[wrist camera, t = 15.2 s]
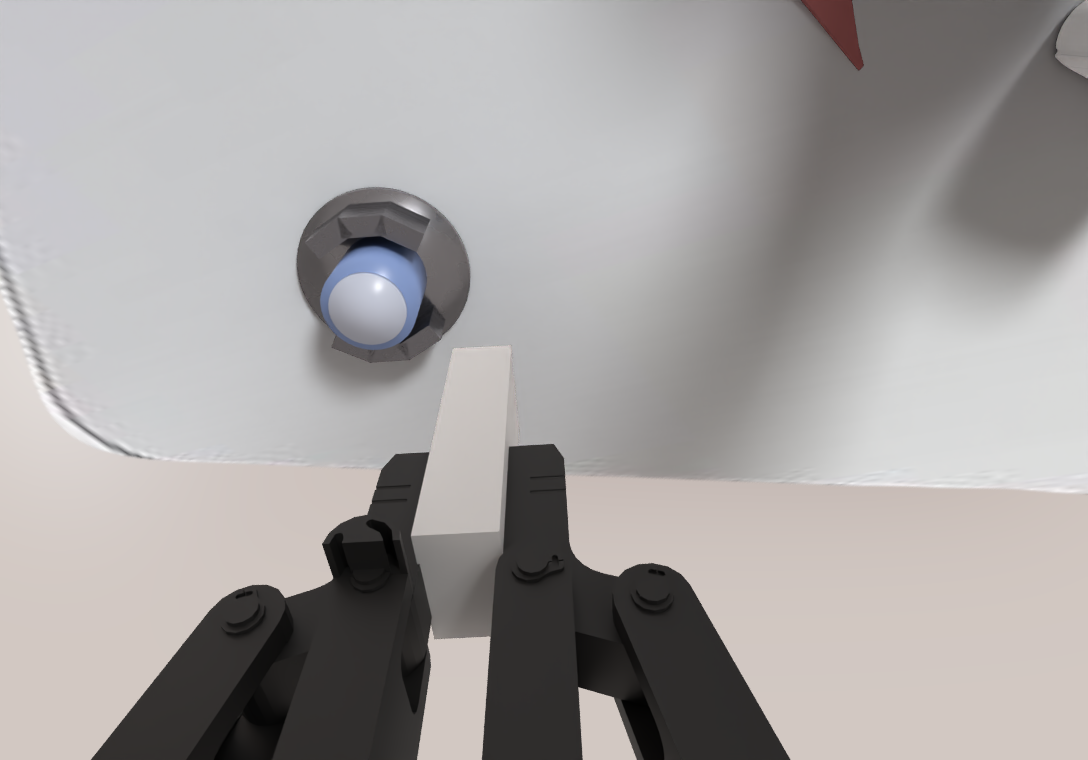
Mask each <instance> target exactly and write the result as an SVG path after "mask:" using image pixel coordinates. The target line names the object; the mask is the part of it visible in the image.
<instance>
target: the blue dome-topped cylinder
mask: <svg viewBox="0 0 1088 760" xmlns="http://www.w3.org/2000/svg"><path fill="white" fill-rule="evenodd" d="M426 285H427V274H426V269H425V266H424V264H423V261H422V260H421V258H420V256H419V255H418V254H417V252H415V251H413V250H411V249H409V248H406V247H404V246H402V245H400V244H397V243H395V242H393V241H390V240H388V239H386V238H384V237H381V236H373V237H365V238H362V239H360V240H358V241H357V242H355V243H354V244H353V245H352V246H351V247H350V248H349V249H348V250H347V251H346V253H345V254H344V256H343V257H342V259H341V260H340V262H339V263H338V264H337V266H336V267H335V269H334V270H333V272H332V273H331V275H330V276H329V278H328V279H327V281H326V282H325V284H324V286H323V288H322V292H321V298H320V305H321V311H322V314H323V317H324V319H325V321H326V323H327V324H328V326H329V327H330V329H331V330H332V331H333V332H334V333H335V334H336V335H337V336H338V337H339V338H341V339H342V340H343V341H345V342H347V343H348V344H351V345H353V346H355V347H359V348H362V349H369V350H380V349H386V348H390V347H392V346H395V345H396V344H398V343H400V342H401V341H403V340H404V339H405V338H406V337H407V336H408V335H409V333H410V332H411V331H412V329H413V327H414V324H415V321H416V318H417V315H418V312H419V309H420V305H421V302H422V299H423V296H424V293H425V290H426Z"/></svg>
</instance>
